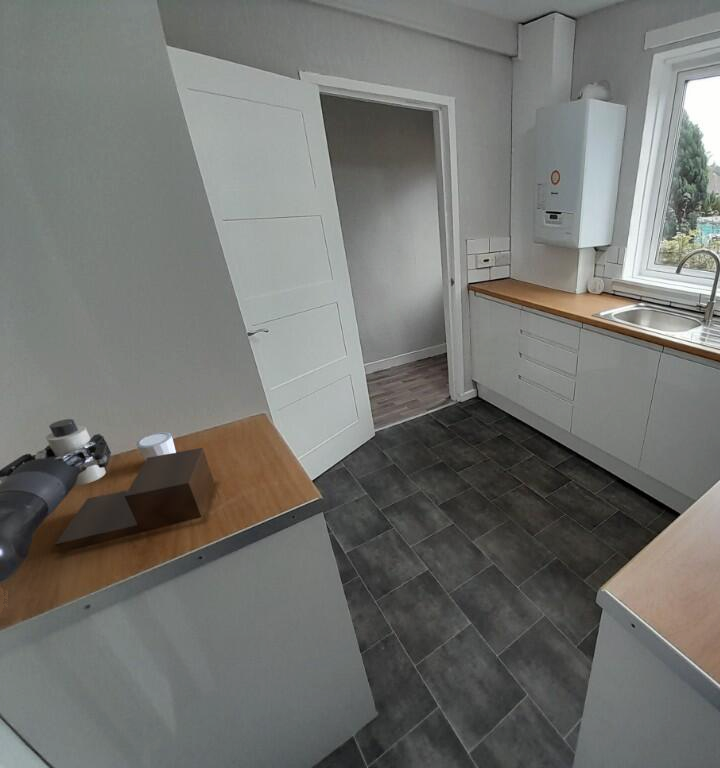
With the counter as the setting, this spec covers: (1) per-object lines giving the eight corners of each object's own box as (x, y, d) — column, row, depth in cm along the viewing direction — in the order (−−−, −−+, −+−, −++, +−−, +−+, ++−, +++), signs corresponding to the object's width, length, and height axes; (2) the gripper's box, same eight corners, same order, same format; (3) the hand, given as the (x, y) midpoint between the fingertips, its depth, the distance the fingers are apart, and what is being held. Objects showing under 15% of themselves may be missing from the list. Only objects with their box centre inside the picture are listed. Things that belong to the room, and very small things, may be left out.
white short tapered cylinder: (153, 474, 99) (142, 450, 96) (142, 464, 103) (131, 441, 100) (185, 460, 105) (176, 437, 102) (174, 451, 108) (164, 429, 105)
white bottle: (63, 488, 76) (34, 432, 71) (76, 473, 80) (49, 419, 76) (99, 481, 78) (73, 426, 73) (110, 466, 82) (86, 414, 78)
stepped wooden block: (61, 556, 76) (37, 514, 72) (93, 509, 88) (73, 471, 84) (203, 521, 85) (188, 482, 81) (214, 483, 97) (202, 447, 92)
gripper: (82, 462, 66) (120, 417, 80) (-46, 485, 60) (19, 432, 74) (100, 499, 69) (134, 449, 83) (-21, 524, 63) (38, 466, 77)
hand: (79, 441), depth 79 cm, fingers closed on white bottle, 5 cm apart
